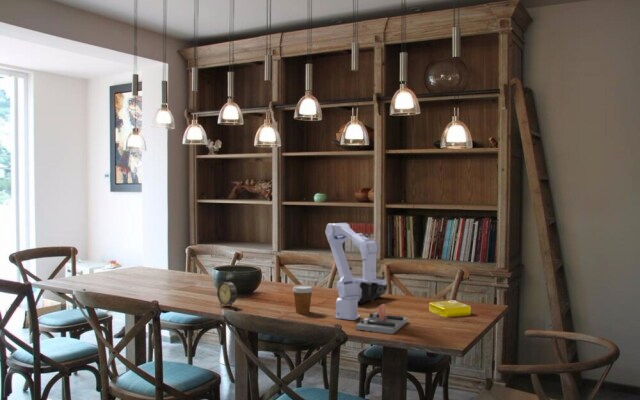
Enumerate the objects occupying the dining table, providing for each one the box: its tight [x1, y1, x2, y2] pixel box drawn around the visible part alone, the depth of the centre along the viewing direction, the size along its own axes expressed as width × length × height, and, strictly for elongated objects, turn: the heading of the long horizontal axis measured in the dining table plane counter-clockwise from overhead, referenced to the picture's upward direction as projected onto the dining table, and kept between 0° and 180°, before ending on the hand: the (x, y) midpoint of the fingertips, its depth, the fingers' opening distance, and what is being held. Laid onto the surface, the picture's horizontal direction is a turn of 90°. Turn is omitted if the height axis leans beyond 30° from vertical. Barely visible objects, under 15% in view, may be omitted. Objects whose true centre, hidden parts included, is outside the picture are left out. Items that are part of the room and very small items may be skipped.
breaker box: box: [355, 312, 408, 335], centre depth 246 cm, size 16×22×4 cm
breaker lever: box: [378, 303, 386, 321], centre depth 246 cm, size 1×5×6 cm, turn 156°
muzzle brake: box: [358, 278, 388, 305], centre depth 298 cm, size 10×28×10 cm, turn 147°
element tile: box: [428, 299, 472, 318], centre depth 272 cm, size 15×15×5 cm
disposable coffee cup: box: [292, 284, 314, 315], centre depth 272 cm, size 10×10×12 cm
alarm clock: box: [216, 273, 238, 309], centre depth 284 cm, size 11×5×16 cm, turn 47°
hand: (369, 300), depth 248 cm, fingers closed
